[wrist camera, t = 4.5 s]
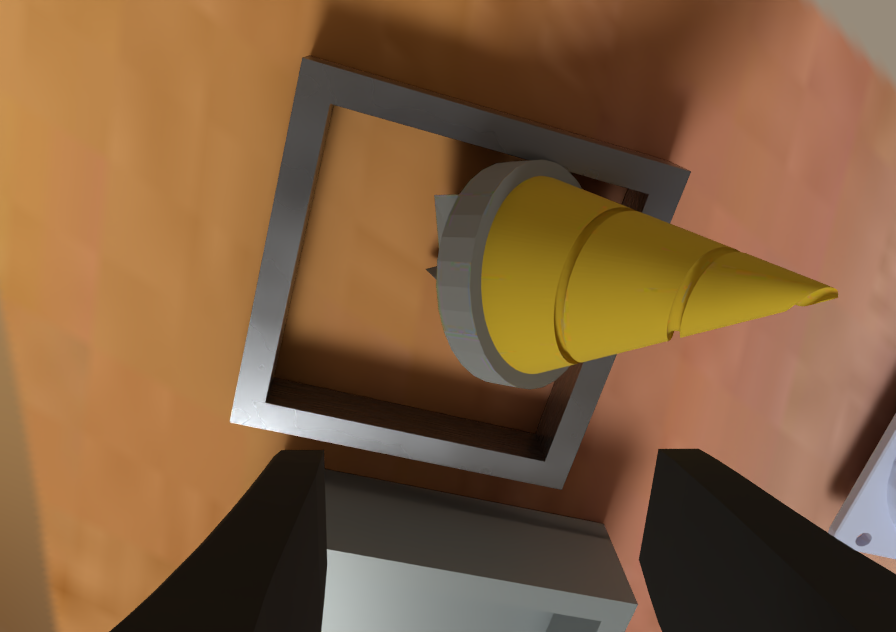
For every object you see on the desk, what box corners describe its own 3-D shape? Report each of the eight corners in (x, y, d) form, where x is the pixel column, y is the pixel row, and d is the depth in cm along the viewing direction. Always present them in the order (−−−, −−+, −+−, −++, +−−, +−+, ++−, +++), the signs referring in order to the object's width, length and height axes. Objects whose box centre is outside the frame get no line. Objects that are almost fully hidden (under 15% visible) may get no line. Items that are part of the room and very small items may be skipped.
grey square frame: (668, 160, 19) (690, 171, 17) (550, 460, 22) (561, 489, 21) (309, 55, 17) (302, 57, 16) (240, 395, 20) (229, 422, 19)
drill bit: (440, 129, 19) (861, 80, 12) (508, 282, 22) (879, 309, 15) (313, 250, 16) (772, 269, 10) (410, 408, 19) (813, 505, 13)
